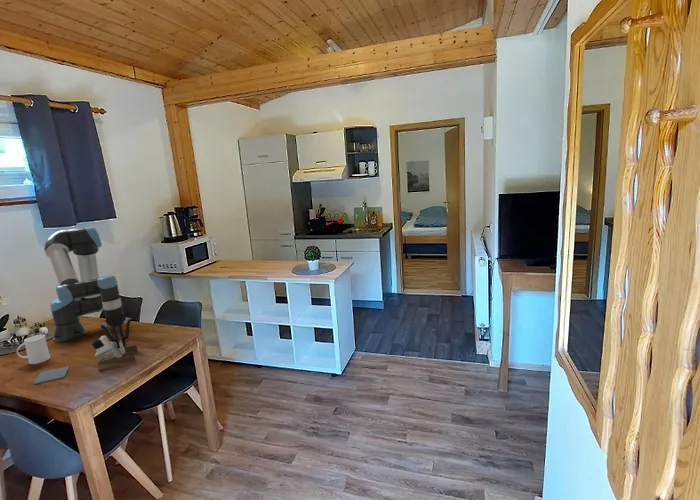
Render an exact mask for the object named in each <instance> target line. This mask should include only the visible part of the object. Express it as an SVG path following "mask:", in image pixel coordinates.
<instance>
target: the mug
mask: <svg viewBox="0 0 700 500" xmlns="http://www.w3.org/2000/svg"><path fill="white" fill-rule="evenodd" d="M23 346H25V351H26V356H25V355H21V354H20V353H19V349H21V347H23ZM16 354H17V356H18V357H20V359H21V358H22V359H28V364H29V365H38V364H41V363H44V362H46V361H48V360H50V358H51V355H50V351H49V348H48V342H47V337H46V335H45V334H35V335H32V336H29V337H26V338H25V339H24V340H23V342H22V343H21V344H19V345H18V347H17V349H16Z"/></svg>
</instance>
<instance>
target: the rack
mask: <svg viewBox="0 0 700 500" xmlns="http://www.w3.org/2000/svg"><path fill="white" fill-rule="evenodd" d="M124 349H125V354H123V355H122V356H121V357H118V358H114V359H109V360H104V361H100V362H99V361H97V363H96V364H97V367H98V372H101V371H106V370H110V369H115V368H119V367H124V366H127V365H132V364H136V363H137V361H136V360H137V359H136V355H135V354H136V353H138V352H139V350H138V345H137V343H135V344H130V345H126V347H124Z"/></svg>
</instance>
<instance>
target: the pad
mask: <svg viewBox="0 0 700 500" xmlns="http://www.w3.org/2000/svg"><path fill="white" fill-rule="evenodd" d="M70 367H71V366H70V365H67V366H65V367H59V368H53V369H50V370H46V371H45V370H44V371H41V372H40V373H39V375H38V376H37V377H36V379H35V381H34V382H33V386H34V385H38V384H39V385H40V384H44V383H47V382H52V381H57V380H61V379H64V378H65V377H66V375H67V374H68V372H69V369H70Z"/></svg>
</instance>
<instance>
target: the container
mask: <svg viewBox="0 0 700 500" xmlns="http://www.w3.org/2000/svg"><path fill="white" fill-rule="evenodd" d="M91 346H92V347H93V349H94V350H95V354H94V356H95V358H96V359H97V360H98V362H100V361H104V360H109V359H114V358H118V357H123V356H122V354H121V349H120V348H117V344H116V342H111V340H110V339H109V337H108V336H107V335H101V336H99V337H97V338H95V339H94V340H93V341H92V343H91Z"/></svg>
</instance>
